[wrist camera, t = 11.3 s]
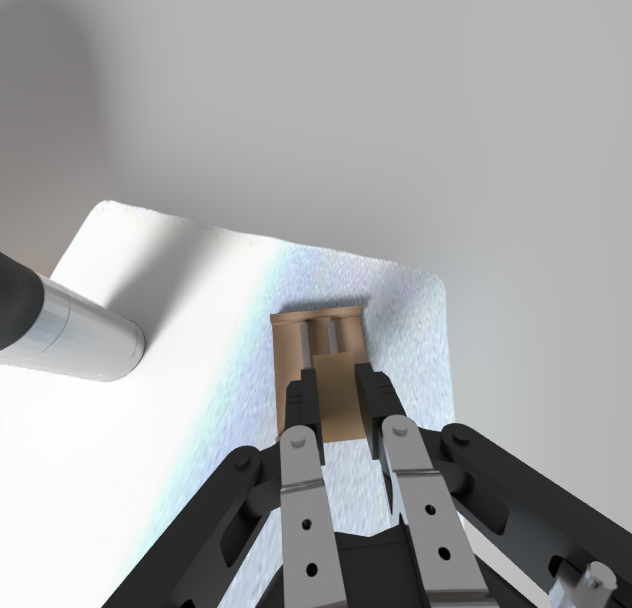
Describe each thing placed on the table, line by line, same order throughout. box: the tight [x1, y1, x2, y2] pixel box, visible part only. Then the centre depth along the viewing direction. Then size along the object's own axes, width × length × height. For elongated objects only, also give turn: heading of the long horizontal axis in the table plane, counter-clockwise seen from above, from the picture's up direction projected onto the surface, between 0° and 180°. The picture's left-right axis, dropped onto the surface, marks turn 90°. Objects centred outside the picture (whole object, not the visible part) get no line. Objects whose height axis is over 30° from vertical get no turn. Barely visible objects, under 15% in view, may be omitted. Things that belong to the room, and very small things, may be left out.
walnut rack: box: [270, 305, 367, 443], centre depth 40 cm, size 13×17×3 cm
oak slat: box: [313, 352, 366, 443], centre depth 21 cm, size 2×4×16 cm, turn 6°
